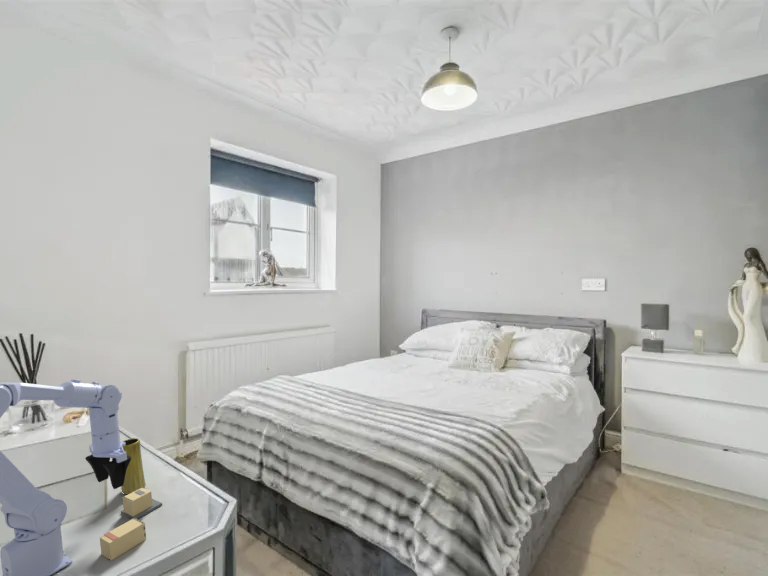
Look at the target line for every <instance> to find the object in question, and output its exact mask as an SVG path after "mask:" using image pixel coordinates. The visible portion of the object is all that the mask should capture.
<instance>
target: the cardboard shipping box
mask: <svg viewBox="0 0 768 576" xmlns="http://www.w3.org/2000/svg"><path fill="white" fill-rule="evenodd" d="M146 531H147V530H146V522H144V521H142V520H140V519H136V518H133V519H130V520H128V521H126V522H125V523H123V524H121V525H119V526H117V527H115V528H113V529H112V530H109V531H107V532H105V533H103V535H101V536H99V544H100V552H101V554H100V555H102V556H103V557H105V558H107V559H108V560H109V559H110V560H109V561H111V562H112V561H113V560H115V559H116V558H118V557H120V556H121V555H123V554H125V553H127V552H128V551H130V550H131V549H133V548H134V547H136V546H138V545H139V544H141V543H142V542H144V541H146V540H147V534H146V533H147V532H146Z"/></svg>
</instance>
